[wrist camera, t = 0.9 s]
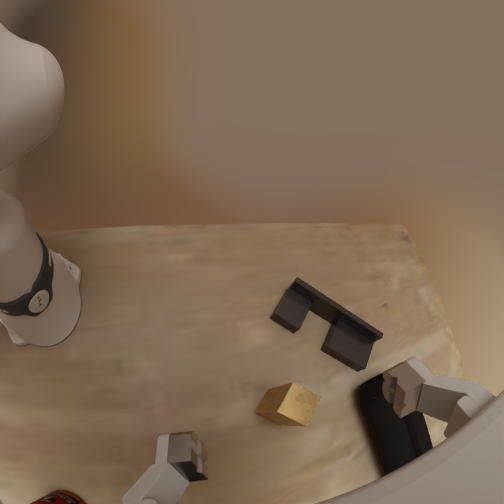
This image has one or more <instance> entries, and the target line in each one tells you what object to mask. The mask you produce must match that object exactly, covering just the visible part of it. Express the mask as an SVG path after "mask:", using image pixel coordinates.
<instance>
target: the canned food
mask: <svg viewBox="0 0 504 504" xmlns="http://www.w3.org/2000/svg"><path fill="white" fill-rule="evenodd" d="M30 504H85V503H84V501H82V500H81V499H80V498H79V497H78V496H76V495H74V494H73V493H70V492H68V491H63V490H57V491H53V492H52V493H50V494H48V495H46V496H44V497H42V498H40V499H38V500H36V501H34V502H32V503H30Z"/></svg>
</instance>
